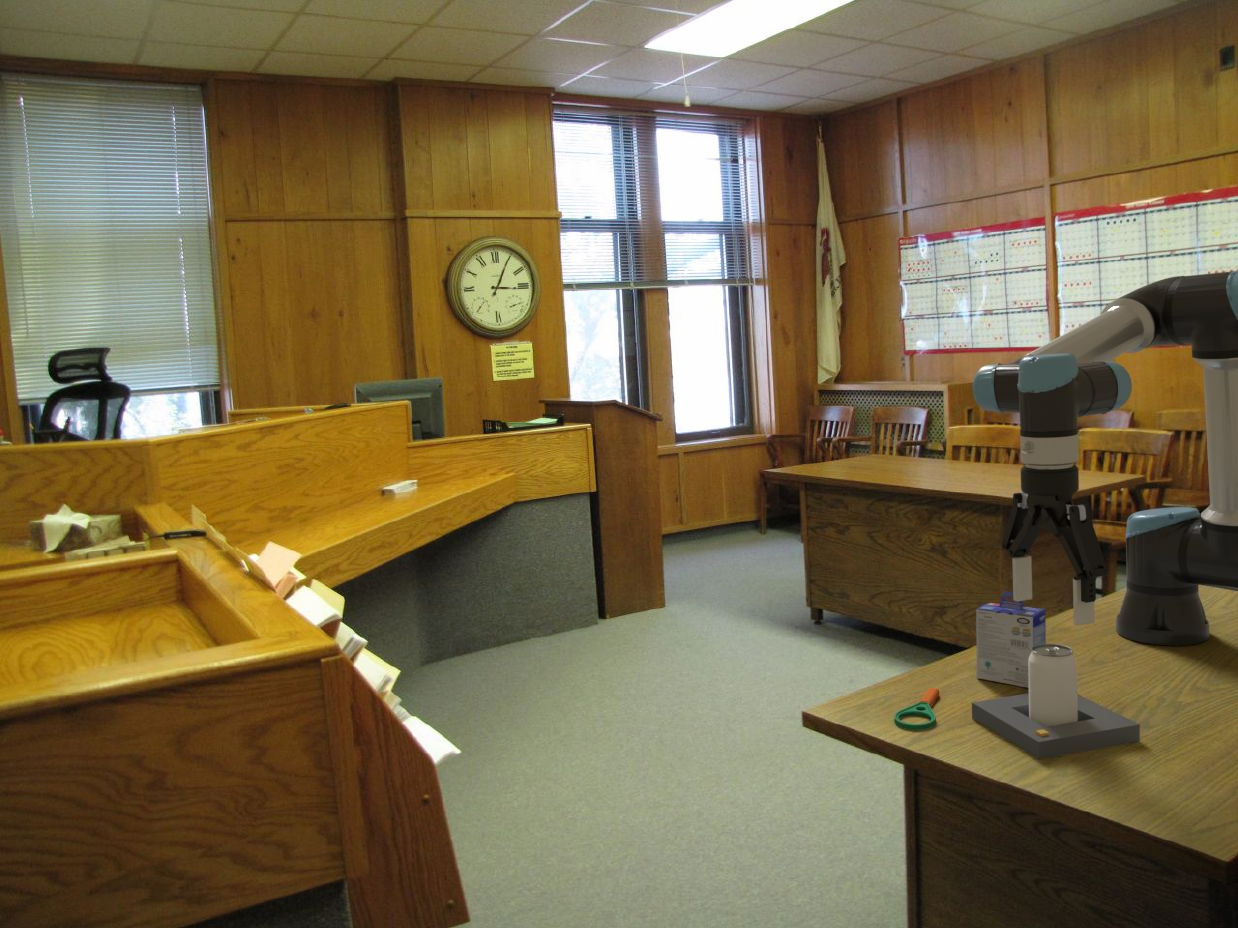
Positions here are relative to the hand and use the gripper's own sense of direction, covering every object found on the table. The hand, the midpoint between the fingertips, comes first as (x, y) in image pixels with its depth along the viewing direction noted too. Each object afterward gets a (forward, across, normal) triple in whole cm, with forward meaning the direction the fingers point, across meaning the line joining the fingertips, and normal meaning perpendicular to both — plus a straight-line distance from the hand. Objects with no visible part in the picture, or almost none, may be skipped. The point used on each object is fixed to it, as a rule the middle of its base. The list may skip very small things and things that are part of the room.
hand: (1052, 611), depth 145 cm
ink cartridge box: (+18, -20, +6) cm, 28 cm away
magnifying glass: (+18, -13, -14) cm, 26 cm away
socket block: (+18, 0, 0) cm, 18 cm away
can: (+18, 0, 0) cm, 18 cm away
